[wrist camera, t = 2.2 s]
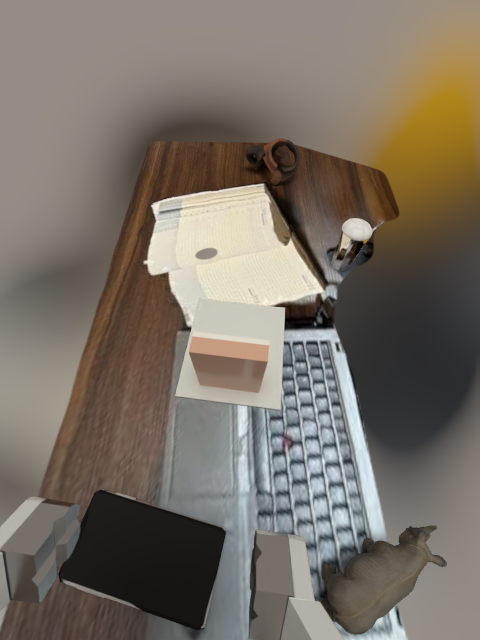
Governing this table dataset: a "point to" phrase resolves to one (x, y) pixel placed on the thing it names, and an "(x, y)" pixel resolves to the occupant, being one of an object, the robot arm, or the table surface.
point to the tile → (229, 361)
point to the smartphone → (146, 558)
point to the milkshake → (351, 242)
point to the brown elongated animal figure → (376, 579)
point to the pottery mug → (273, 159)
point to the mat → (242, 324)
